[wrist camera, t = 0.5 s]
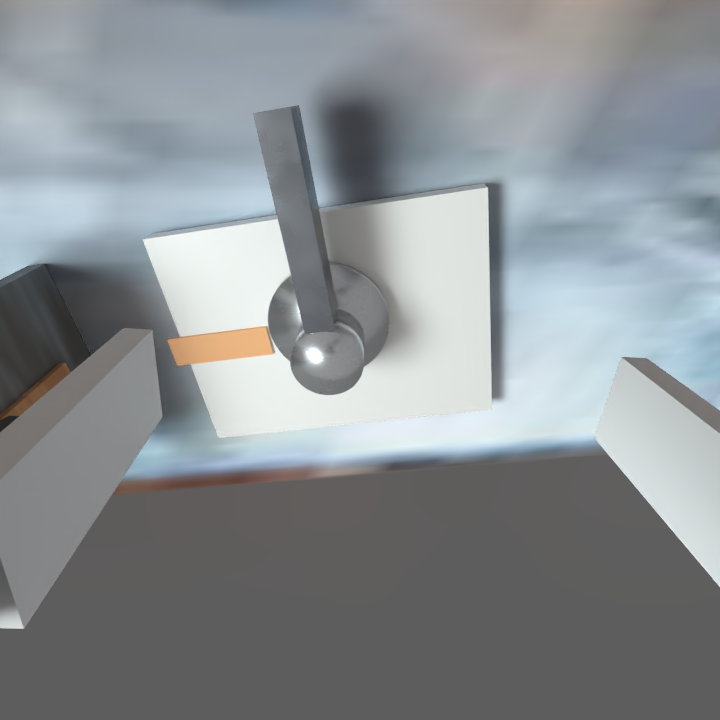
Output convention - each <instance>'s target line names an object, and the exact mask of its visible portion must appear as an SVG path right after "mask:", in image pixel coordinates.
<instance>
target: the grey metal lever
mask: <svg viewBox="0 0 720 720" xmlns="http://www.w3.org/2000/svg"><path fill="white" fill-rule="evenodd" d="M253 116H254V120H255V124H256V128H257V133H258V137H259V141H260V145H261V150H262V154H263V158H264V162H265V167H266V171H267V175H268V179H269V184H270V188H271V192H272V196H273V201H274V205H275V209H276V213H277V218H278V222H279V226H280V230H281V235H282V239H283V243H284V247H285V252H286V256H287V260H288V264H289V269H290V273H291V274H289V275H288V276H287V277H286V278H285V279H284V280H283V281H282V282H281V283H280V285H279V286H278V288H277V289H276V291H275V293H274V295H273V297H272V300H271V302H270V306H269V310H268V326H269V331H270V334H271V337H272V339H273V341H274V343H275V345H276V347H277V348H278V350H279V351H280V352H281V353H282V354H283V356H284V357H285V358H287V359H288V360H289V361H290V366H291V370H292V373H293V375H294V377H295V378H296V380H297V381H298V382H299V383H300V384H301V385H302V386H303V387H305V388H306V389H308V390H310V391H312V392H314V393H317V394H322V395H336V394H340V393H343V392H346V391H347V390H349V389H351V388H352V387H353V386H354V385H355V384H356V383H357V382H358V381H359V379H360V377H361V375H362V372H363V367H365V366H366V365H368V364H369V363H370V362H371V361H373V360H374V359H375V358H376V357H377V355H378V354H379V353H380V351H381V350H382V348H383V346H384V345H385V342H386V340H387V337H388V332H389V311H388V306H387V303H386V300H385V297H384V296H383V294H382V292H381V290H380V289H379V287H378V286H377V285H376V284H375V283H374V281H373V280H372V279H371V278H369V277H368V276H367V275H366V274H364V273H363V272H361V271H359V270H358V269H356V268H353V267H351V266H348V265H345V264H342V263H336V262H329V260H328V255H327V249H326V244H325V239H324V234H323V228H322V223H321V218H320V213H319V207H318V202H317V197H316V192H315V187H314V181H313V176H312V171H311V166H310V160H309V155H308V150H307V145H306V139H305V134H304V129H303V124H302V118H301V113H300V108H299V105H298V106H292V107H286V108H281V109H275V110H269V111H264V112H259V113H254V114H253Z"/></svg>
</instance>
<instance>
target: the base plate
mask: <svg viewBox="0 0 720 720" xmlns="http://www.w3.org/2000/svg"><path fill="white" fill-rule="evenodd" d="M319 213H320V218H321V223H322V228H323V234H324V239H325V244H326V249H327V255H328V260H329V262H336V263H342V264H345V265H348V266H351V267H353V268H356V269H358V270H359V271H361V272H363V273H364V274H366V275H367V276H368V277H369V278H371V279H372V280H373V281H374V283H375V284H376V285H377V286H378V287H379V289H380V290H381V292H382V294H383V296H384V297H385V300H386V303H387V306H388V311H389V332H388V337H387V340H386V342H385V345H384V346H383V348H382V350H381V351H380V353H379V354H378V355H377V357H376V358H375V359H374V360H373V361H371V362H370V363H369V364H368V365H366V366H365V367H363V372H362V375H361V377H360V379H359V381H358V382H357V383H356V384H355V385H354V386H353V387H352V388H351V389H349V390H347V391H346V392H343V393H340V394H336V395H322V394H317V393H314V392H312V391H310V390H308V389H306V388H305V387H303V386H302V385H301V384H300V383H299V382H298V381H297V380H296V378H295V377H294V375H293V373H292V370H291V366H290V361H289V360H288V359H287V358H285V357H284V356H283V354H282V353H281V352H280V351H279V350H278V348H277V347H276V345H275V343H274V341H273V339H272V337H271V334H270V331H269V326H268V310H269V306H270V302H271V300H272V297H273V295H274V293H275V291H276V289H277V288H278V286H279V285H280V283H281V282H282V281H283V280H284V279H285V278H286V277H287V276H288V275H289V274H291V273H290V269H289V264H288V260H287V256H286V252H285V247H284V243H283V239H282V235H281V230H280V226H279V222H278V218H277V215H272V216H265V217H259V218H252V219H246V220H239V221H232V222H226V223H219V224H213V225H206V226H200V227H193V228H186V229H180V230H173V231H167V232H160V233H154V234H150V235H149V236H147V237H146V238H144V239H143V242H144V244H145V247H146V250H147V252H148V255H149V258H150V260H151V263H152V265H153V268H154V271H155V273H156V276H157V278H158V281H159V284H160V286H161V289H162V291H163V294H164V297H165V299H166V302H167V305H168V307H169V310H170V312H171V315H172V318H173V320H174V323H175V325H176V328H177V331H178V333H179V336H180V337H177V338H169V339H167V341H168V344H169V346H170V349H171V351H172V354H173V356H174V359H175V361H176V364H177V366H181V365H189V364H190V365H191V367H192V370H193V372H194V375H195V378H196V380H197V383H198V386H199V388H200V391H201V393H202V396H203V399H204V401H205V404H206V406H207V409H208V412H209V414H210V417H211V420H212V422H213V425H214V427H215V430H216V433H217V435H218V438H224V437H233V436H243V435H253V434H262V433H272V432H281V431H291V430H300V429H310V428H319V427H329V426H338V425H348V424H358V423H367V422H377V421H386V420H396V419H405V418H415V417H424V416H434V415H443V414H453V413H463V412H472V411H482V410H491V409H492V383H491V327H490V270H489V213H488V187H487V186H486V185H485V184H484V183H482V184H475V185H469V186H462V187H456V188H449V189H443V190H436V191H429V192H423V193H416V194H410V195H403V196H397V197H390V198H384V199H377V200H370V201H364V202H357V203H351V204H344V205H338V206H331V207H324V208H319Z"/></svg>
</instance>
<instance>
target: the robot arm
mask: <svg viewBox="0 0 720 720" xmlns="http://www.w3.org/2000/svg"><path fill="white" fill-rule="evenodd" d="M162 417H163V416H162V407H161V399H160V390H159V381H158V373H157V364H156V356H155V347H154V338H153V330H151V329H134V328H123V329H121V330H120V331H119V332H118V333H117V334H116V335H114V336H113V337H112V338H111V339H110V340H108V341H107V342H106V343H105V344H104V345H103V346H101V347H100V348H99V349H98V350H97V351H96V352H94V353H93V354H92V355H91V356H90V357H88V358H87V359H86V360H85V361H84V362H83V363H81V364H80V365H79V366H78V367H77V368H76V369H74V370H73V371H72V372H71V373H70V374H68V375H67V376H66V377H65V378H64V379H63V380H61V381H60V382H59V383H58V384H57V385H56V386H54V387H53V388H52V389H51V390H50V391H48V392H47V393H46V394H45V395H44V396H43V397H41V398H40V399H39V400H38V401H37V402H35V403H34V404H33V405H32V406H31V407H30V408H28V409H27V410H26V411H25V412H24V413H23V414H21V415H20V416H7V417H5V418H3V419H1V420H0V628H23V629H24V628H25V626H26V625H27V623H28V622H29V620H30V618H31V617H32V615H33V614H34V612H35V611H36V609H37V608H38V606H39V605H40V603H41V602H42V600H43V599H44V597H45V595H46V594H47V592H48V591H49V589H50V588H51V586H52V585H53V583H54V582H55V580H56V579H57V577H58V576H59V574H60V573H61V571H62V570H63V568H64V567H65V565H66V564H67V562H68V561H69V559H70V557H71V556H72V554H73V553H74V551H75V550H76V548H77V547H78V545H79V544H80V542H81V541H82V539H83V538H84V536H85V535H86V533H87V532H88V530H89V528H90V527H91V525H92V524H93V522H94V521H95V519H96V518H97V516H98V515H99V513H100V512H101V510H102V509H103V507H104V506H105V504H106V503H107V501H108V499H109V498H110V496H111V495H112V493H113V492H114V490H115V489H116V487H117V486H118V484H119V483H120V481H121V480H122V478H123V477H124V475H125V474H126V472H127V471H128V469H129V467H130V466H131V464H132V463H133V461H134V460H135V458H136V457H137V455H138V454H139V452H140V451H141V449H142V448H143V446H144V445H145V443H146V442H147V440H148V439H149V437H150V435H151V434H152V432H153V431H154V429H155V428H156V426H157V425H158V423H159V422H160V420H161V419H162ZM594 438H595V439H596V440H597V442H598V443H599V444H600V445H601V446H602V448H603V449H604V450H605V451H606V452H607V454H608V455H609V456H610V457H611V458H612V459H613V461H614V462H615V463H616V464H617V465H618V467H619V468H620V469H621V470H622V471H623V472H624V473H625V475H626V476H627V477H628V478H629V480H630V481H631V482H632V483H633V484H634V486H635V487H636V488H637V489H638V490H639V491H640V493H641V494H642V495H643V496H644V497H645V499H646V500H647V501H648V502H649V503H650V504H651V505H652V507H653V508H654V509H655V510H656V512H657V513H658V514H659V515H660V516H661V518H662V519H663V520H664V521H665V522H666V524H667V525H668V526H669V527H670V528H671V529H672V531H673V532H674V533H675V534H676V535H677V536H678V538H679V539H680V540H681V541H682V542H683V544H684V545H685V546H686V547H687V548H688V550H689V551H690V552H691V553H692V554H693V555H694V557H695V558H696V559H697V560H698V561H699V563H700V564H701V565H702V566H703V567H704V569H705V570H706V571H707V572H708V573H709V575H710V576H711V577H712V578H713V579H714V580H715V582H717V584H718V585H719V586H720V411H719V410H718V409H717V408H715V407H714V406H712V405H711V404H710V403H708V402H707V401H705V400H704V399H703V398H701V397H700V396H698V395H697V394H696V393H694V392H693V391H692V390H690V389H689V388H687V387H686V386H685V385H683V384H682V383H680V382H679V381H678V380H676V379H675V378H673V377H672V376H671V375H669V374H668V373H666V372H665V371H664V370H662V369H661V368H659V367H658V366H657V365H655V364H654V363H653V362H651V361H650V360H648V359H647V358H630V357H621V359H620V362H619V365H618V368H617V371H616V374H615V377H614V380H613V383H612V386H611V389H610V392H609V395H608V398H607V401H606V403H605V406H604V409H603V412H602V415H601V418H600V421H599V424H598V427H597V430H596V433H595V436H594Z"/></svg>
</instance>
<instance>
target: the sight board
mask: <svg viewBox="0 0 720 720" xmlns="http://www.w3.org/2000/svg"><path fill="white" fill-rule="evenodd" d="M88 357H90V354H89V352H88V349H87V347H86V345H85V343H84V341H83V339H82V337H81V335H80V333H79V331H78V329H77V327H76V325H75V323H74V321H73V319H72V317H71V315H70V313H69V311H68V309H67V307H66V305H65V303H64V301H63V299H62V297H61V295H60V293H59V291H58V289H57V287H56V285H55V283H54V281H53V279H52V277H51V275H50V273H49V271H48V269H47V267H46V265H45V264H40V265H33V266H27V267H25V268H23V269H21V270H19V271H17V272H15V273H13V274H11V275H9V276H7V277H5V278H3V279H1V280H0V420H1V419H3V418H5V417H7V416H20V415H21V414H23V413H24V412H25V411H26V410H27V409H28V408H30V407H31V406H32V405H33V404H34V403H35V402H37V401H38V400H39V399H40V398H41V397H43V396H44V395H45V394H46V393H47V392H48V391H50V390H51V389H52V388H53V387H54V386H56V385H57V384H58V383H59V382H60V381H61V380H63V379H64V378H65V377H66V376H67V375H68V374H70V373H71V372H72V371H73V370H74V369H76V368H77V367H78V366H79V365H80V364H81V363H83V362H84V361H85V360H86V359H87V358H88Z"/></svg>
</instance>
